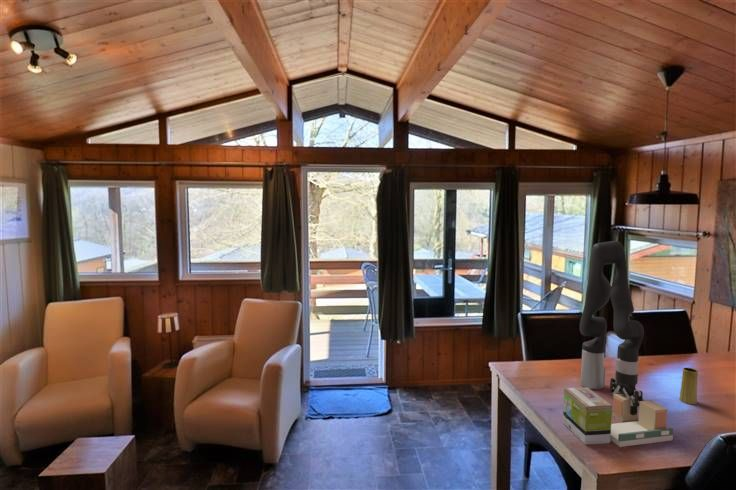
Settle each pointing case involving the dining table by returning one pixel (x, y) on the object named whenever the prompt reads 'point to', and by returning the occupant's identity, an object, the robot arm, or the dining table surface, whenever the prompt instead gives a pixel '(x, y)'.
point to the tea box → (587, 415)
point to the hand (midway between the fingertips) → (624, 409)
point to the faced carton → (652, 415)
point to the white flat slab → (638, 434)
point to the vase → (689, 386)
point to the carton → (623, 408)
